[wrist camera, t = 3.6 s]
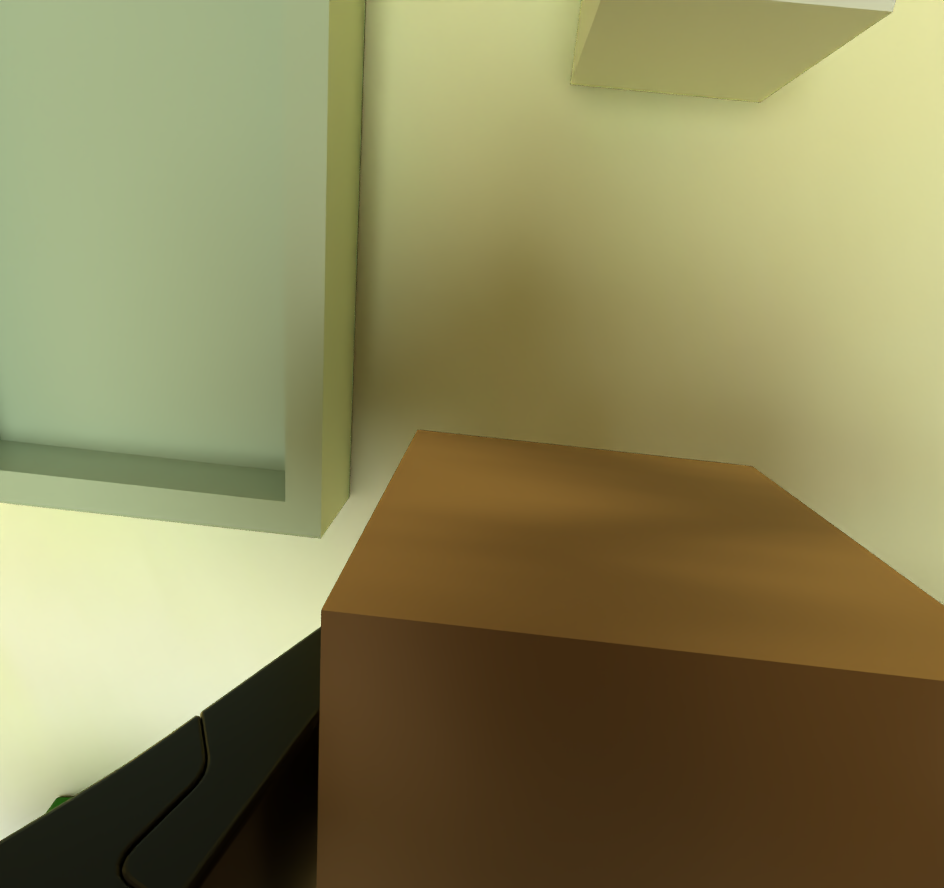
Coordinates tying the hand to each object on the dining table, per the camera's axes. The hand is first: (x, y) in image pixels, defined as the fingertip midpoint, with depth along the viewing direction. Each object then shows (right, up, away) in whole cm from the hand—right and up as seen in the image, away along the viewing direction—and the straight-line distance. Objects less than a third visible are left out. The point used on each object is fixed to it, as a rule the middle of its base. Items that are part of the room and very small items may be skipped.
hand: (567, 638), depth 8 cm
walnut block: (0, 0, +1) cm, 1 cm away
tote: (-11, +11, +7) cm, 16 cm away
